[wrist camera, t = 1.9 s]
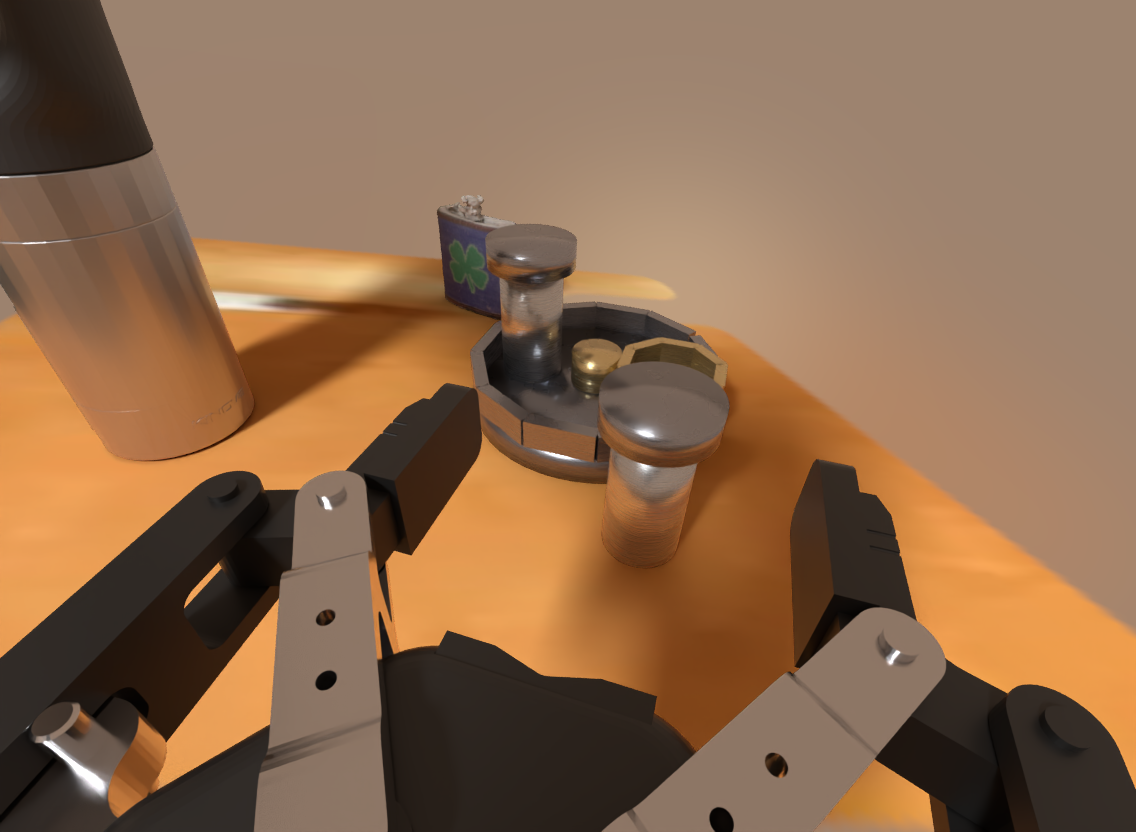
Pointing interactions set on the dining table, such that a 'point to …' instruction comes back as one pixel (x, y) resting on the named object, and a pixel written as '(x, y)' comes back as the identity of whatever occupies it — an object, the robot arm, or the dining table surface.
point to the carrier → (562, 356)
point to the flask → (469, 257)
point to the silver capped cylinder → (654, 454)
